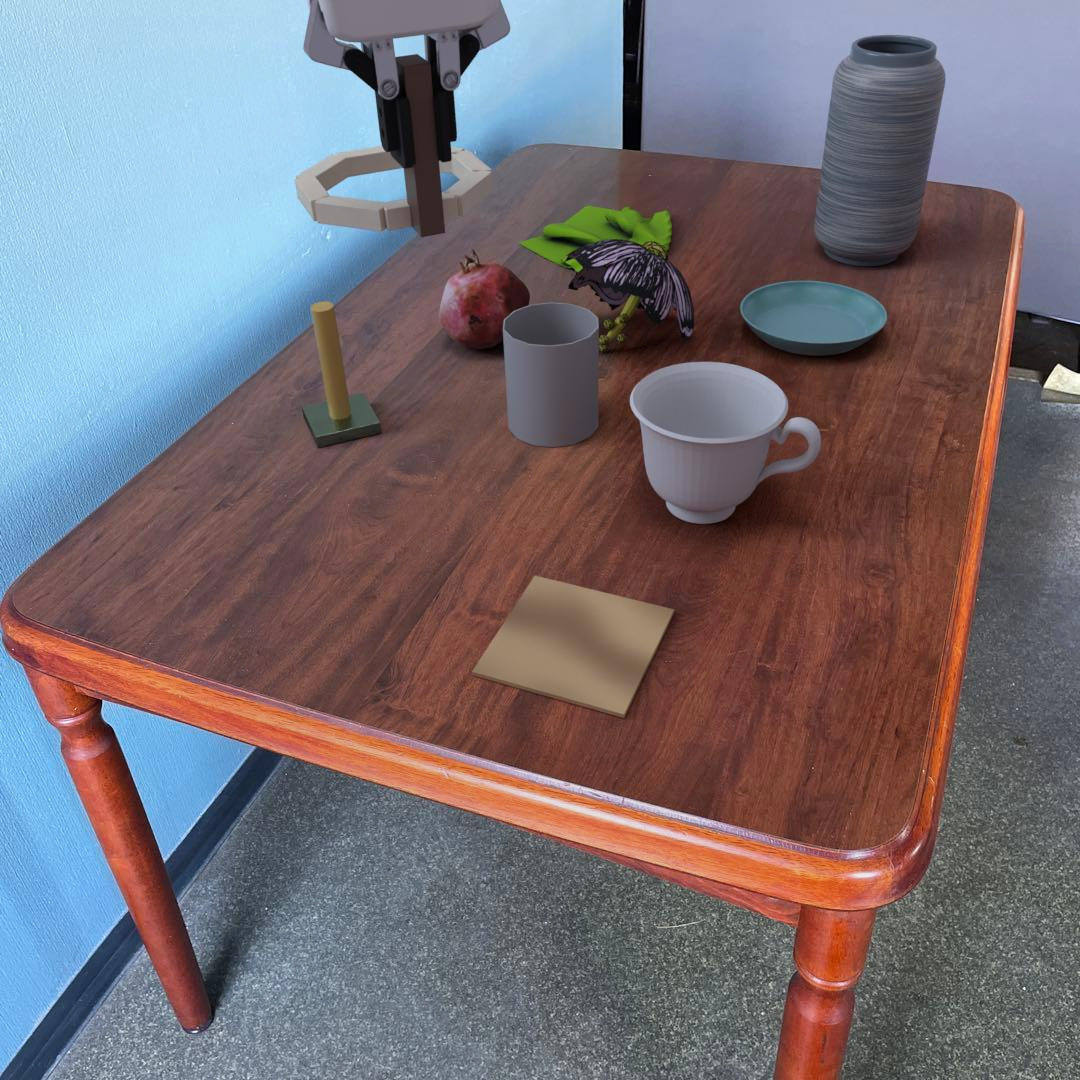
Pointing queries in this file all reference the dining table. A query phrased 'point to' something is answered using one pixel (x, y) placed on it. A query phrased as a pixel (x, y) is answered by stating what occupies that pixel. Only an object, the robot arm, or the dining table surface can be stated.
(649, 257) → the decorative flower
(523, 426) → the cup
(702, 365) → the teacup
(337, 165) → the ring
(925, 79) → the vase
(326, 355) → the stand
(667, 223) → the cloth
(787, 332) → the saucer
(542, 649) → the cork pad
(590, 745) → the dining table surface
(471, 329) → the fruit
